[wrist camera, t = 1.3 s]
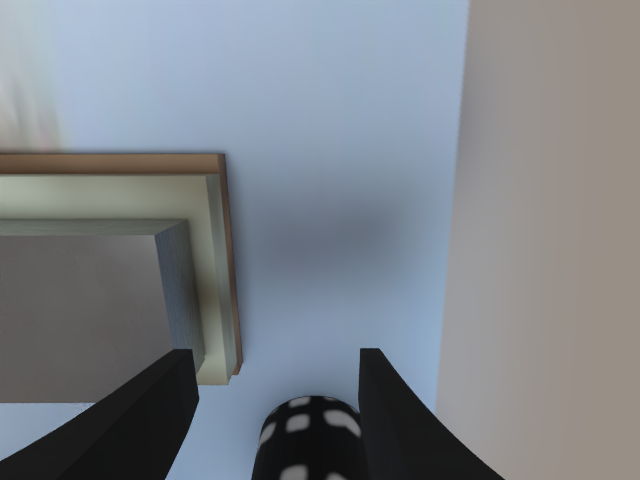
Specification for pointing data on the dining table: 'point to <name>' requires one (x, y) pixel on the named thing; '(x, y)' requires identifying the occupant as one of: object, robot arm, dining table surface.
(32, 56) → the dining table surface
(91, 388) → the metal block
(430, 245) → the dining table surface
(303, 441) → the white-spotted black cylinder
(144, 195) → the tan piece
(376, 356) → the robot arm
